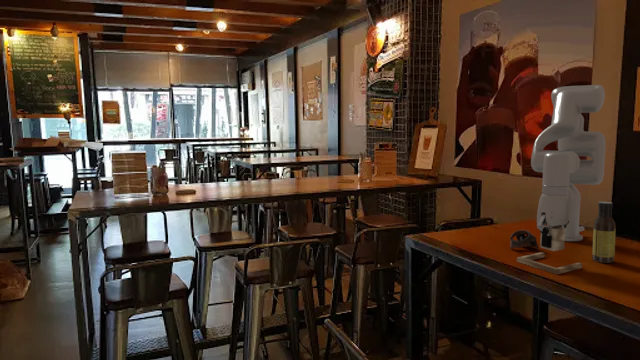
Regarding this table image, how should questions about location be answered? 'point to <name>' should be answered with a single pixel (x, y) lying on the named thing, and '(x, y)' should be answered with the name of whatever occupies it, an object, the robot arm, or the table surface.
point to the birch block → (556, 238)
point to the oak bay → (559, 270)
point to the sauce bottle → (604, 234)
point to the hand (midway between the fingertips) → (552, 245)
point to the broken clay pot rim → (523, 239)
